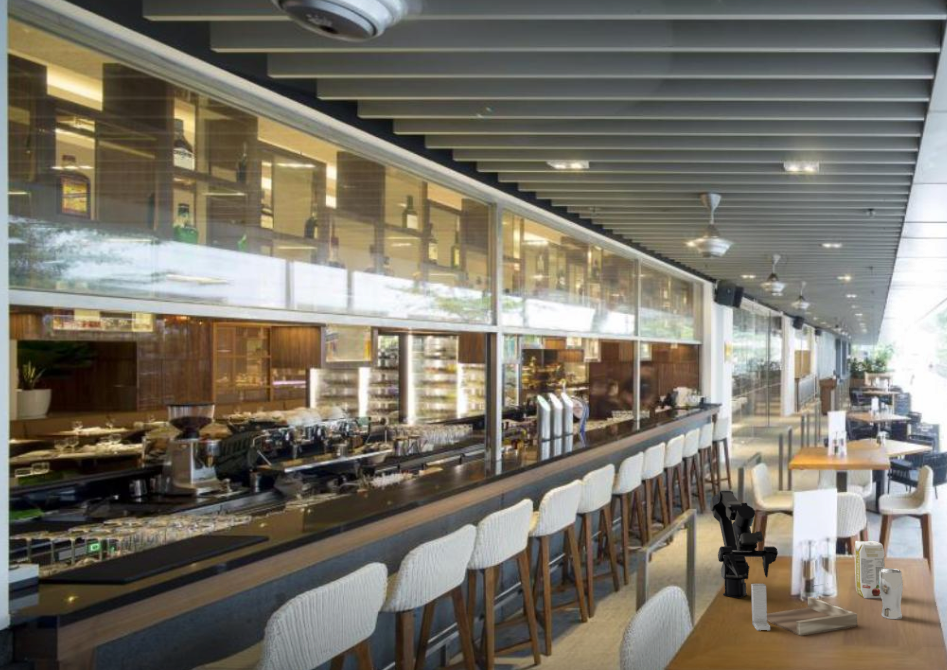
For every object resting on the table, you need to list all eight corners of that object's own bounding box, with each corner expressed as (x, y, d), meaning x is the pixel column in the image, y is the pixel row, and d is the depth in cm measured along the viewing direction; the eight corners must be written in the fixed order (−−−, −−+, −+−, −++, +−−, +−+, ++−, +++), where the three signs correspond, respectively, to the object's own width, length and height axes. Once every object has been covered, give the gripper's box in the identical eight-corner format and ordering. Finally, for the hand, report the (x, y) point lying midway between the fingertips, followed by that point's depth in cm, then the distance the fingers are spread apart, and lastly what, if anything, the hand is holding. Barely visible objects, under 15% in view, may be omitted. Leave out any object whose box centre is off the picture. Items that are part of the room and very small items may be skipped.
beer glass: (879, 618, 268) (878, 571, 268) (880, 612, 274) (878, 566, 274) (903, 621, 264) (902, 574, 265) (903, 614, 271) (902, 569, 271)
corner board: (757, 616, 271) (756, 604, 271) (811, 608, 279) (811, 596, 279) (800, 635, 252) (799, 622, 252) (857, 626, 260) (857, 613, 260)
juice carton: (887, 599, 288) (886, 544, 289) (863, 599, 288) (861, 544, 289) (877, 592, 296) (876, 539, 296) (853, 593, 296) (852, 540, 296)
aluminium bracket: (752, 624, 264) (751, 583, 264) (765, 624, 264) (763, 583, 264) (757, 630, 258) (756, 588, 258) (770, 630, 258) (769, 588, 258)
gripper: (718, 522, 277) (727, 563, 266) (775, 522, 276) (786, 563, 264) (714, 540, 285) (722, 581, 273) (769, 540, 283) (779, 581, 272)
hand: (752, 576), depth 271 cm, fingers open, 9 cm apart
